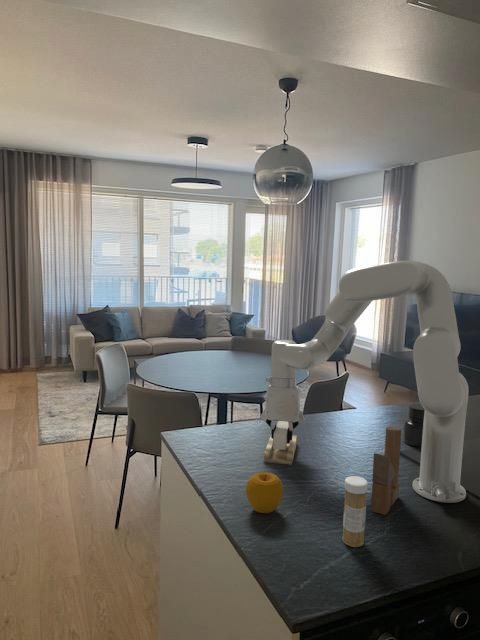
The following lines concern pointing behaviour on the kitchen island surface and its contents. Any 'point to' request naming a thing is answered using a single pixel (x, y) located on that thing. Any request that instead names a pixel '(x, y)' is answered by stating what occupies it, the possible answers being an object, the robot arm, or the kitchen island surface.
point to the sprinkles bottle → (354, 511)
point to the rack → (280, 452)
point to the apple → (264, 492)
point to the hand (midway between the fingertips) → (281, 440)
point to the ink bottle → (414, 425)
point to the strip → (280, 435)
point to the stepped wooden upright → (386, 473)
